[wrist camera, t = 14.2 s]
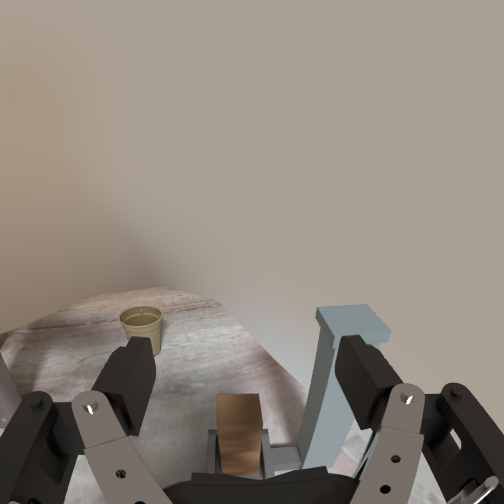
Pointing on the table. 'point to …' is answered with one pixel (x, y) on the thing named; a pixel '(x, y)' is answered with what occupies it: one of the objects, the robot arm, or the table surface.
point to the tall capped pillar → (317, 399)
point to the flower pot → (143, 323)
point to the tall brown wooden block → (239, 433)
